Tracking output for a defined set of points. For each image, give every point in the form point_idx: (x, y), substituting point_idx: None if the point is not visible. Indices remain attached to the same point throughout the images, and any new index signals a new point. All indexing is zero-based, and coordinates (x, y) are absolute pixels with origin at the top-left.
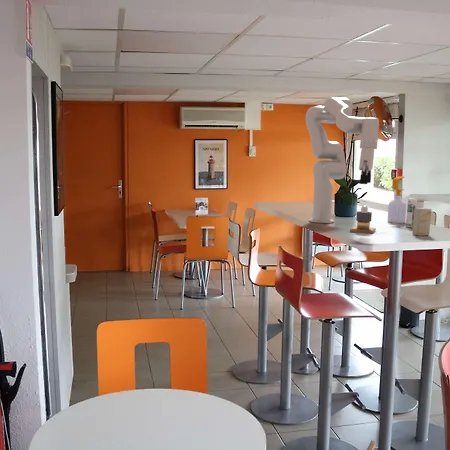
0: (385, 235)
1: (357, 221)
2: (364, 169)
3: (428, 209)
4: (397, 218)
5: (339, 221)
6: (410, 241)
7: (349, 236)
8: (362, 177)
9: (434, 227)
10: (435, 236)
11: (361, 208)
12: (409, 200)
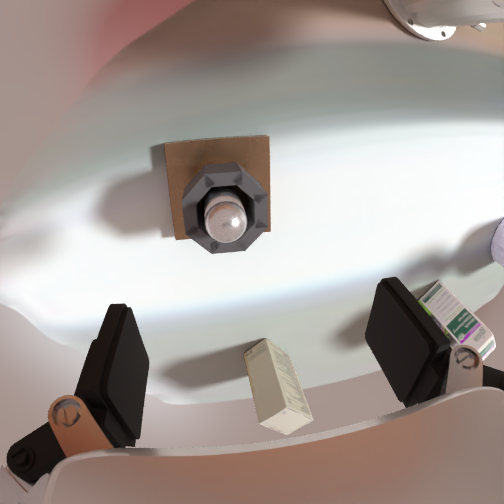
0: (171, 281)
1: None
2: (17, 480)
3: (279, 431)
4: (499, 250)
5: (464, 65)
6: None
7: (46, 184)
8: (82, 381)
9: None
10: None
11: (211, 207)
12: (483, 336)
